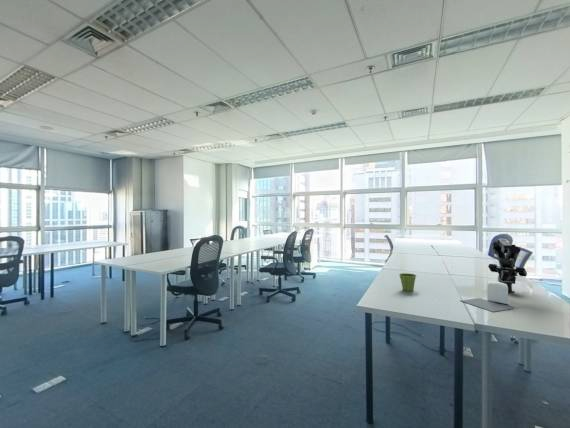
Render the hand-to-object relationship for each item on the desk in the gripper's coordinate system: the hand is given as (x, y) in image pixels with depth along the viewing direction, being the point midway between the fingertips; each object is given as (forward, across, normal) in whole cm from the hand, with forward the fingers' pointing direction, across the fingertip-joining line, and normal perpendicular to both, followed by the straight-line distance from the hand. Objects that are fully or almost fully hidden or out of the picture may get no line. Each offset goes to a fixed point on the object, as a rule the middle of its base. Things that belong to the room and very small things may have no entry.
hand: (503, 280), depth 166 cm
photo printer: (+15, 0, +2) cm, 15 cm away
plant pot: (+30, -47, -12) cm, 57 cm away
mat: (+23, -2, -5) cm, 24 cm away
